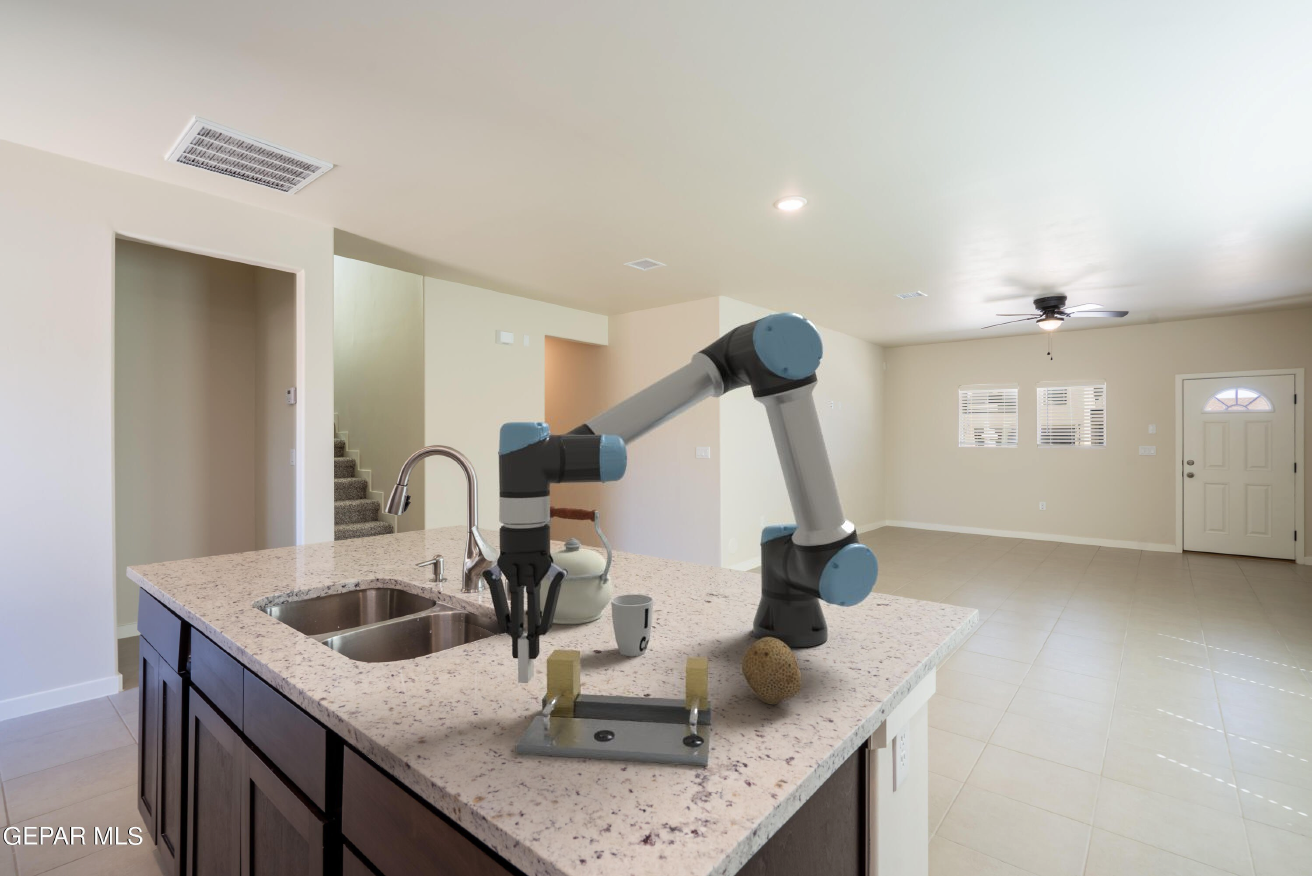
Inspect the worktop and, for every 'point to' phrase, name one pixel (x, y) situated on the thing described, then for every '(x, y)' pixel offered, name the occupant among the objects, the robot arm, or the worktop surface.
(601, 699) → the rail
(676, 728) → the bolt plate
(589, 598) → the kettle
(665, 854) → the worktop surface
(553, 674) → the block
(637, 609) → the cup
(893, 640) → the worktop surface
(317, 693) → the worktop surface
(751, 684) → the natural sponge
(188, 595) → the worktop surface
